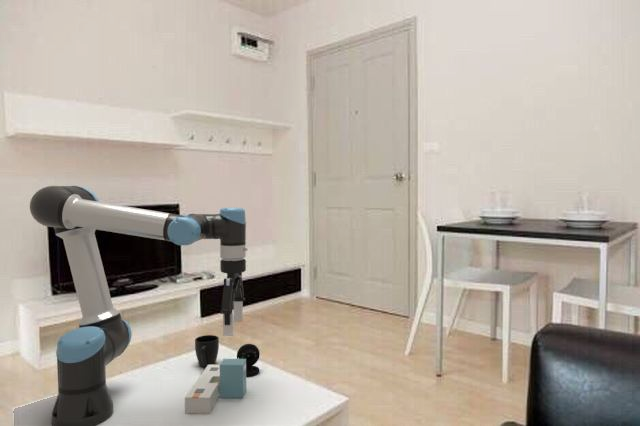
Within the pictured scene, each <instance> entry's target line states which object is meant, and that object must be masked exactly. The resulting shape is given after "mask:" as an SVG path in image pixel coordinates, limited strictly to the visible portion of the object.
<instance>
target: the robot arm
mask: <svg viewBox="0 0 640 426" xmlns="http://www.w3.org/2000/svg"><path fill="white" fill-rule="evenodd" d="M29 210H30V214H31V216H32V218H33V219H34V220H35V222H37V223H38V224H41V226H45V227H49V228H53V229H54V233H55V236H57V237H59V238H60V239H62V240H63V245H64V249H65V252H66V256H67V261H68V265H69V267H70V272H71V276H72V281H73V284H74V289H75V291H76V295H77V300H78V304H79V307H80V308H79V309H80V312H81V315H82V317H81V319H80V320H79V322H78V328H76V329H72V330H71V329H70V330H68V331H67V332H65V333H64V334H62V335H61V336H60V337H59V339H58V340H57V344H56V352H55V357H56V365H57V366H56V367H57V388H58V389H57V396H56V398H55V399H56V400H55V402H54V405H53V409H52V412H51V425H52V426H96V425H99V424H101V423H102V422H105V421H106V420H108V419H109V418H110V417H112V415H113V414H114V400H113V398H112V395H111V393H110V390H109V388H108V386H107V380H106V379H107V378H106V377H107V376H106V375H107V373H106V370H107V369H106V367H107V366H108V364H110V363H111V362H112V361H114V360H115V359H117V357H120V356H121V355H122V354H123V353H124V352H125V350H126V349H127V348H128V347H129V345H130V343H131V340H132V336H133V335H132V327H131V326H130V324H129V323H128V321H126V320H125V319H124V318H122V314H121V311H120V310H118V309H116V308H115V307H114V305H113V301H112V297H111V294H110V293H111V292H110V289H109V285H108V281H107V278H106V277H107V276H106V274H105V270H104V265H103V261H102V258H101V257H102V256H101V254H100V249H99V246H98V241H97V238H96V234H95V233H96V231H97V230H98V231H105V232H110V233H111V232H112V233H117V234H122V235H123V234H124V235H128V236H136V237H142V238H147V239H148V238H149V239H155V240H161V241H162V240H163V241H166V242H172V243H173V244H175V245H177V246H190V245H193V244H194V243H196V242H199V241H201V240H220V241H219V242H220V243H219V244H220V245H219V247H220V248H219V252H220V253H219V254H220V255H219V257H220V258H221V259H220V260H219V261H220V264H219V265H220V268H219V269H220V272H221V273H223V274H226V278H224V279H223V291H222V300H221V308H220V309H221V310H219V314H222V320H223V321H222V324H223V325H222V333H223V335H222V336H225V337H232V336H234V323H243V322H244V321H243V320H244V319H243V318H244V316H243V314H244V313H243V307H244V305H243V303H244V302H245V301H246V297H244V296H245V294H244V285H243V277H242V276H243V273H244V272H246V269H247V264H246V262H247V261H246V259H245V258H246V256H247V255H246V252H247V251H248V247H246V244H247V243H246V239H247V237H246V235H247V232H246V230H247V229H246V228H247V225H246V224H247V222H246V211H245V209H244V208H243V207H221V208H220V209H219V213H215V214H208V213H187V214H186V213H183V214H182V215H181V214H176V213H169V212H163V211H157V210H151V209H144V208H138V207H131V206H126V205H121V204H115V203H108V202H101V201H99V198H98V197H97V195H96V194H95V193H94V192H93V191H91V190H90V189H88V188H85V187H83V186H82V187H81V186H77V185H65V186H64V185H49V186H45V187H42V188H40V189H39V190H37V191H36V192H35V193H34V194H33V195H32V197H31V198H30V201H29Z"/></svg>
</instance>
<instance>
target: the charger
mask: <svg viewBox="0 0 640 426" xmlns="http://www.w3.org/2000/svg"><path fill="white" fill-rule="evenodd" d="M219 365H220V382H212V383H218V384H220V385H218V387H220V391H219V398H224V399H225V398H230V399H233V398H239V399H243V398H244V397H245V395H246V392H247V377H246V359H237V358H223V359H222V361H221V362H220V364H219Z"/></svg>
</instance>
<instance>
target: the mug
mask: <svg viewBox="0 0 640 426" xmlns="http://www.w3.org/2000/svg"><path fill="white" fill-rule="evenodd" d="M219 339H220V338H219V336H217V335H214V334H209V335H208V334H205V335H201V336H198V337H196V338H195V339H194V349H195V350H194V351H195V355H196V358H197V359H196V360H197V362H198V365H199V367H201V368H204V369H206V367H207V366H208V365H216V363H217V358H218V355H219V348H220V347H219V346H220V344H219V343H220V342H219V341H220V340H219Z"/></svg>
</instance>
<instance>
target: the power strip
mask: <svg viewBox="0 0 640 426" xmlns="http://www.w3.org/2000/svg"><path fill="white" fill-rule="evenodd" d="M212 382H220V364H215V365H208V366H207V367H206V368H204V370H203V372H202V373H200V376H199V377H198V378H197V380H196V381H195V382H194V384H193V385H192V387H191V388H190V389H189V391H188V392H187V393H186V395H185V396H184V413H185V414H210V413H211V412H212V410H213V408H214V407H215V405H216V403H217V401H218V400H219V392H220V387H218V385H220V384H218V383H212ZM217 399H218V400H217Z"/></svg>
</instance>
